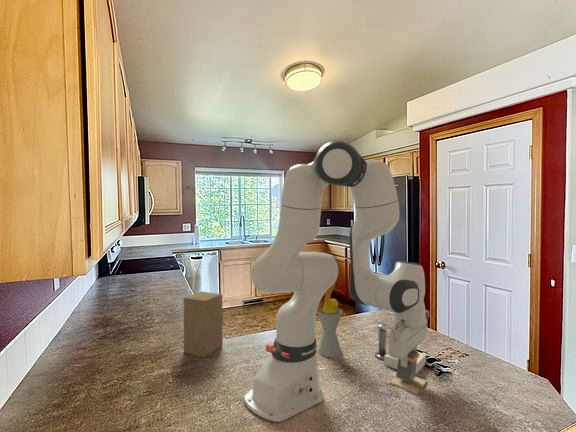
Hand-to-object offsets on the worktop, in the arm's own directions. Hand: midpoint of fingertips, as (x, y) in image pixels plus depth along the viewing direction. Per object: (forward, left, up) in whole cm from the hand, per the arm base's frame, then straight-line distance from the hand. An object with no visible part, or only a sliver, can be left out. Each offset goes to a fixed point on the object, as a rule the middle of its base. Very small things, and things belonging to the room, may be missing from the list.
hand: (408, 362), depth 91 cm
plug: (0, +1, -5) cm, 5 cm away
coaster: (0, 0, -6) cm, 6 cm away
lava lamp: (+2, +29, -6) cm, 30 cm away
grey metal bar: (+16, +13, +4) cm, 21 cm away
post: (+11, +13, -6) cm, 18 cm away
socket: (+11, +5, -6) cm, 13 cm away
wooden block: (-28, +64, -6) cm, 70 cm away
